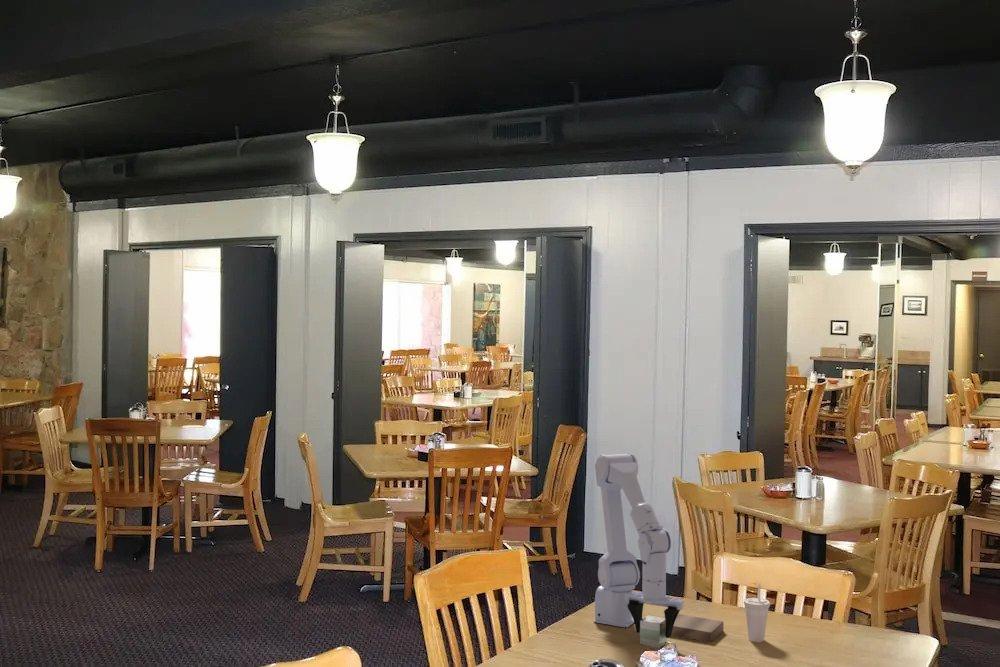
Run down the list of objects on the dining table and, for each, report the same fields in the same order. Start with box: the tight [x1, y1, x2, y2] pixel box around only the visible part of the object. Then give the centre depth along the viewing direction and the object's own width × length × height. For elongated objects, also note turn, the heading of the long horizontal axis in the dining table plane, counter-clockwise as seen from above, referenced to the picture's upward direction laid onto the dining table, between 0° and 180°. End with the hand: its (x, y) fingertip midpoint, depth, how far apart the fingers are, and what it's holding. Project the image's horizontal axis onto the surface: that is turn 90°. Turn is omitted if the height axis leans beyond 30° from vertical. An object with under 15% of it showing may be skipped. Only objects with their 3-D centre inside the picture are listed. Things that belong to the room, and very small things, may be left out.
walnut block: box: [671, 613, 724, 643], centre depth 247 cm, size 12×10×3 cm
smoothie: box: [743, 583, 771, 643], centre depth 242 cm, size 6×6×14 cm
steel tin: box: [639, 614, 668, 649], centre depth 239 cm, size 5×5×6 cm
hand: (653, 634), depth 239 cm, fingers open, 7 cm apart
